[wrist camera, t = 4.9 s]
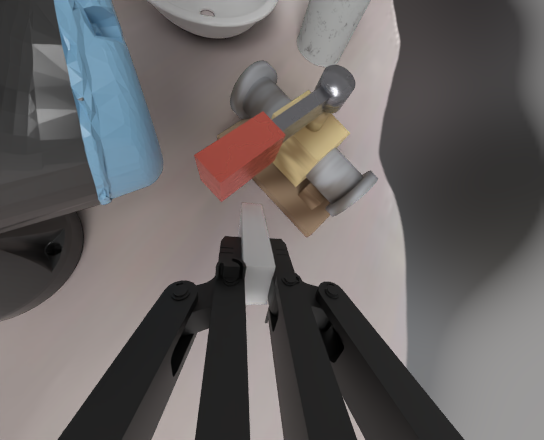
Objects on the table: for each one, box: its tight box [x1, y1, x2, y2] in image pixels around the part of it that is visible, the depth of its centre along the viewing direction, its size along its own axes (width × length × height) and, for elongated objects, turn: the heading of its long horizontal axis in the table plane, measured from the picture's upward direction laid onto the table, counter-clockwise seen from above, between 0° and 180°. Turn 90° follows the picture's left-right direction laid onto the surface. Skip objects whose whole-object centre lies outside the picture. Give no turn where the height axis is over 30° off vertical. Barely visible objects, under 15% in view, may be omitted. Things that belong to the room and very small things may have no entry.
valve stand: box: [217, 61, 378, 237], centre depth 26 cm, size 20×11×13 cm, turn 44°
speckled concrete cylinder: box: [297, 0, 371, 67], centre depth 35 cm, size 10×10×12 cm
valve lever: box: [194, 65, 355, 202], centre depth 16 cm, size 3×16×4 cm, turn 134°
